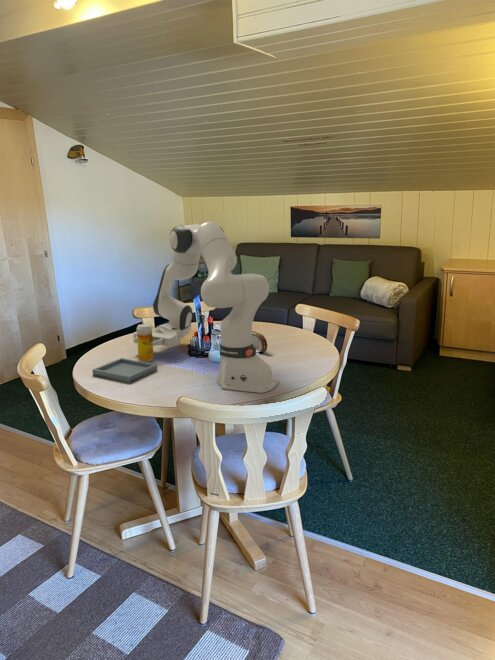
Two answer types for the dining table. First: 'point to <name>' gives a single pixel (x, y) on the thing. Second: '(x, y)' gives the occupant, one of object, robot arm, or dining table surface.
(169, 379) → the dining table surface
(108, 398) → the dining table surface
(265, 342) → the tin
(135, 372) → the tray
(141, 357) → the beer can
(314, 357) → the dining table surface
